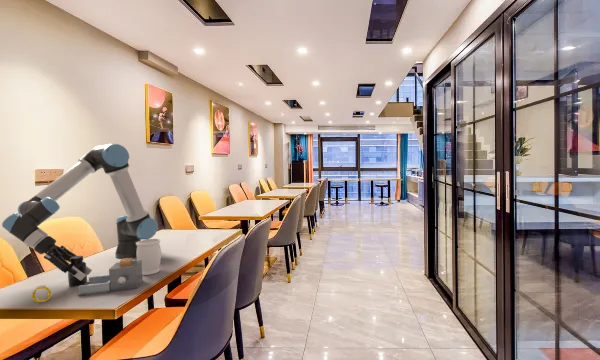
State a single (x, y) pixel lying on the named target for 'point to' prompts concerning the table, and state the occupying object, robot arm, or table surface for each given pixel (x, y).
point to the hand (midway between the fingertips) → (86, 275)
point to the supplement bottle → (81, 266)
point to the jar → (149, 255)
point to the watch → (41, 288)
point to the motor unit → (115, 278)
